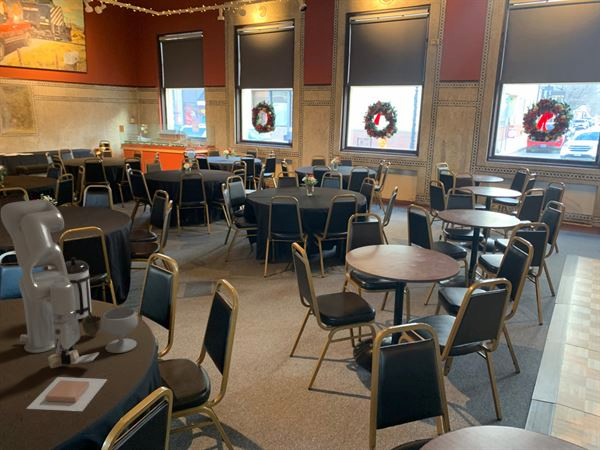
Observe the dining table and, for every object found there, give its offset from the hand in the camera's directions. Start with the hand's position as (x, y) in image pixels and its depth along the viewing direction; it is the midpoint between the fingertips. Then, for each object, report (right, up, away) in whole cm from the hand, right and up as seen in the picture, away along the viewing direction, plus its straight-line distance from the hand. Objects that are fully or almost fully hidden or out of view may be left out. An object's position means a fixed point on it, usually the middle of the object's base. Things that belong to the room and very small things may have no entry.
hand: (68, 361), depth 165 cm
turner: (+2, 0, 0) cm, 2 cm away
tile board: (+8, -8, -15) cm, 18 cm away
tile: (+8, -4, -11) cm, 15 cm away
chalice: (+12, 0, +19) cm, 23 cm away
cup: (-4, +2, +27) cm, 28 cm away
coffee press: (-18, +7, +43) cm, 47 cm away
